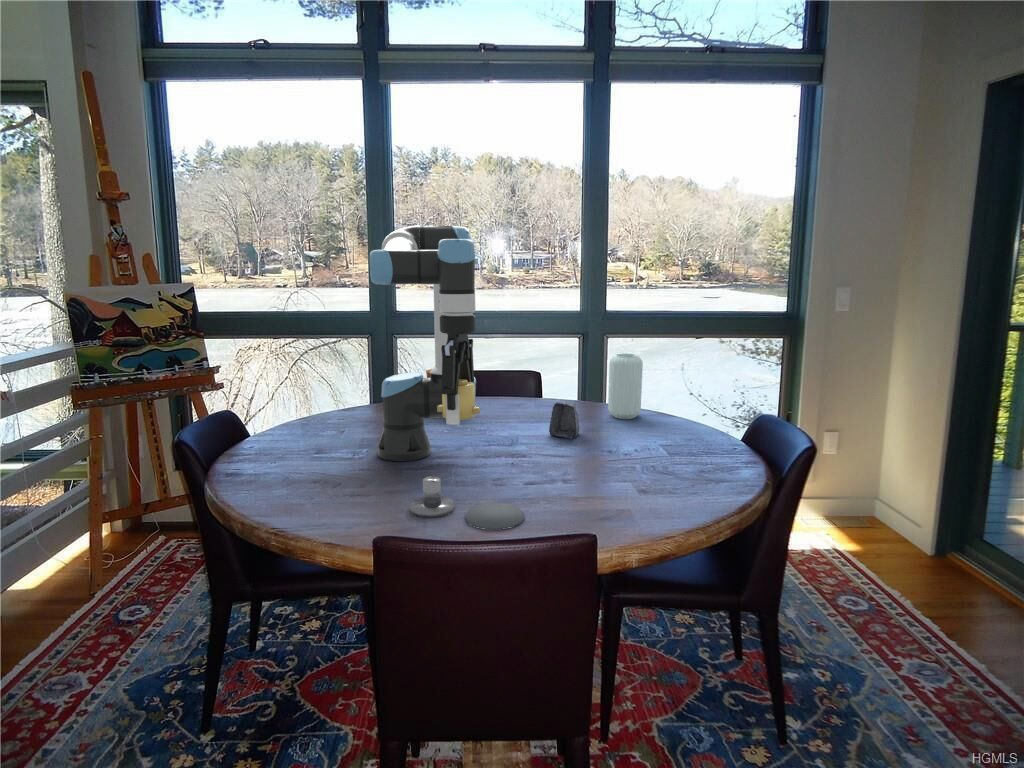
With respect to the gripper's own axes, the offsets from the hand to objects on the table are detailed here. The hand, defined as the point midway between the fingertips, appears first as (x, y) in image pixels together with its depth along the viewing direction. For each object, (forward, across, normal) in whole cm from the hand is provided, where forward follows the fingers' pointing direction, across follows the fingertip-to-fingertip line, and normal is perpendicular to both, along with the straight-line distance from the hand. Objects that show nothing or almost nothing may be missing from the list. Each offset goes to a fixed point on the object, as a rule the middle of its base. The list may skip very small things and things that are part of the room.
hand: (459, 419), depth 141 cm
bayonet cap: (-1, 0, 0) cm, 1 cm away
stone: (+21, -71, +11) cm, 75 cm away
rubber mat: (+22, 0, +8) cm, 23 cm away
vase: (+21, -100, +27) cm, 105 cm away
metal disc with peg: (+22, -1, -7) cm, 23 cm away
